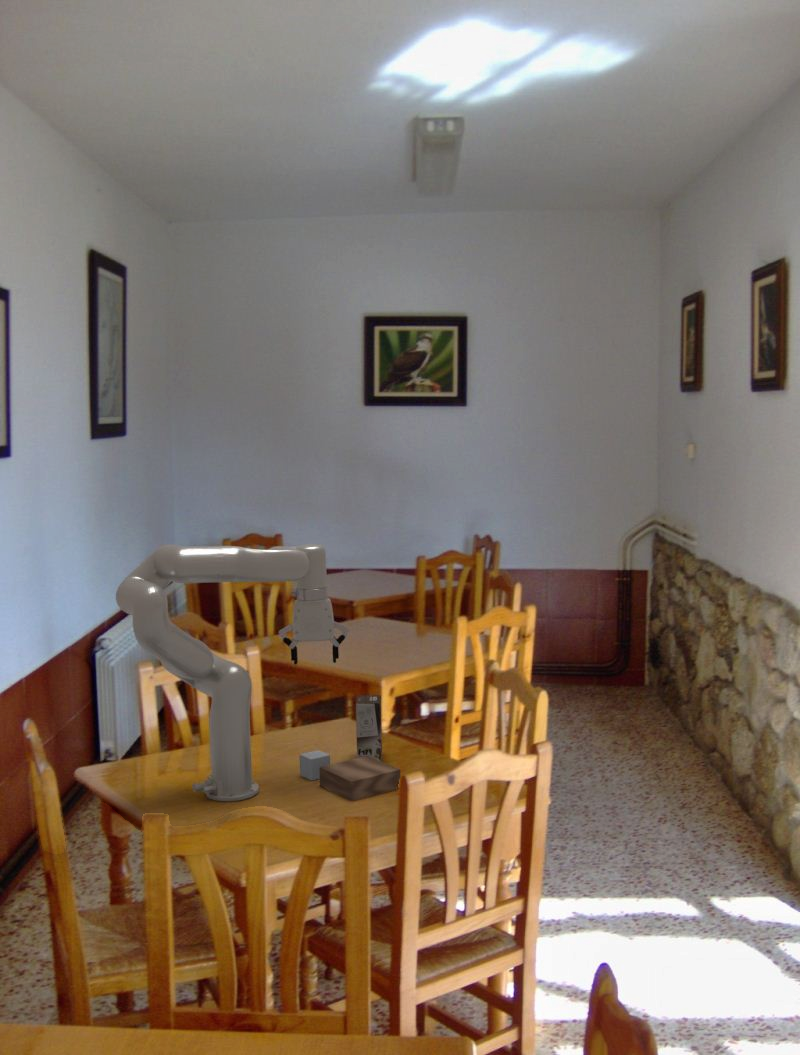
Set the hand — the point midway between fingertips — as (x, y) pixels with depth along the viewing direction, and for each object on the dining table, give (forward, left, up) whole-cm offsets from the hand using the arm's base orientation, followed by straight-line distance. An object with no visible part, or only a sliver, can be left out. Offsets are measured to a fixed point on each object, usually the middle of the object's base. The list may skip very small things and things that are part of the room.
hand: (315, 662), depth 265 cm
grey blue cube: (-2, -1, -29) cm, 28 cm away
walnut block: (+2, -15, -29) cm, 33 cm away
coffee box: (+16, +1, -29) cm, 33 cm away
